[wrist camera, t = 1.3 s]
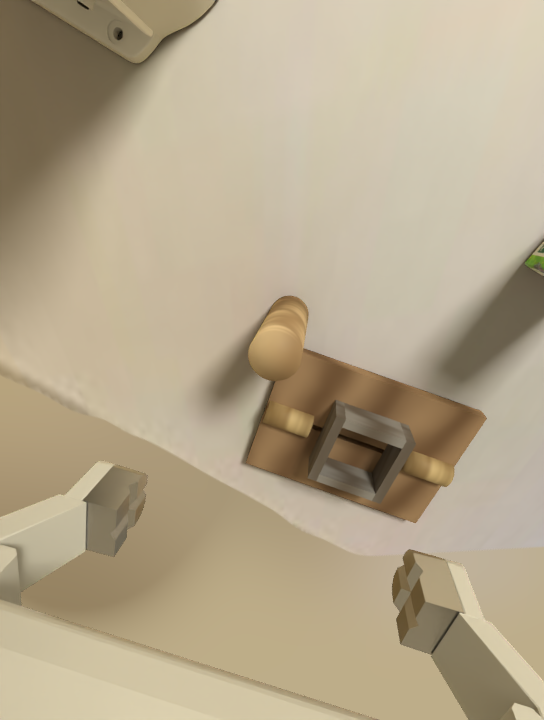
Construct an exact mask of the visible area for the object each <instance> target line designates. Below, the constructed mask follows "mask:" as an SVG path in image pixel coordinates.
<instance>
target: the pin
mask: <svg viewBox="0 0 544 720" xmlns="http://www.w3.org/2000/svg"><path fill="white" fill-rule="evenodd" d="M307 322H308V309H307V306H306V305H305V303H304V302H303V301H302V300H301V299H299V298H297V297H294V296H284V297H281V298H279V299H278V300H277V301H276V302H275V303H274V304H273V306H272V308H271V309H270V311H269V313H268V315H267V316H266V318H265V320H264V322H263V323H262V325H261V327H260V329H259V330H258V332H257V334H256V336H255V337H254V339H253V341H252V343H251V344H250V347H249V351H248V359H249V363H250V365H251V367H252V369H253V370H254V371H255V372H256V373H257V374H258V375H259V376H261V377H262V378H264V379H267V380H271V381H281V380H285V379H288V378H290V377H291V376H293V375H294V374H295V373H296V372H297V370H298V369H299V367H300V364H301V359H302V353H303V347H304V340H305V334H306V328H307Z"/></svg>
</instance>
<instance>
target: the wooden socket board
mask: <svg viewBox="0 0 544 720" xmlns="http://www.w3.org/2000/svg"><path fill="white" fill-rule="evenodd" d="M486 419H487V418H486V416H485V415H484V414H483V413H482V411H480V410H477V409H474V408H471V407H468V406H466V405H463V404H460V403H457V402H454V401H451V400H449V399H446V398H443V397H440V396H437V395H434V394H432V393H429V392H426V391H423V390H420V389H417V388H415V387H412V386H409V385H406V384H403V383H400V382H398V381H395V380H392V379H389V378H386V377H383V376H381V375H378V374H375V373H372V372H369V371H366V370H364V369H361V368H358V367H355V366H352V365H349V364H347V363H344V362H341V361H338V360H335V359H332V358H330V357H327V356H324V355H321V354H318V353H315V352H313V351H310V350H307V349H304V348H303V353H302V359H301V364H300V367H299V369H298V370H297V372H296V373H295V374H294V375H293V376H291V377H290V378H288V379H285V380H281V381H275V383H274V386H273V389H272V391H271V394H270V397H269V400H268V403H267V406H266V408H265V411H264V413H263V416H262V419H261V421H260V424H259V427H258V430H257V432H256V435H255V438H254V441H253V443H252V446H251V449H250V452H249V454H248V457H247V460H246V463H247V464H250V465H253V466H256V467H259V468H261V469H264V470H267V471H270V472H273V473H275V474H278V475H281V476H284V477H287V478H290V479H292V480H295V481H298V482H301V483H304V484H306V485H309V486H312V487H315V488H318V489H321V490H323V491H326V492H329V493H332V494H335V495H337V496H340V497H343V498H346V499H349V500H352V501H354V502H357V503H360V504H363V505H366V506H368V507H371V508H374V509H377V510H380V511H383V512H385V513H388V514H391V515H394V516H397V517H399V518H402V519H405V520H408V521H411V522H414V523H416V522H417V521H418V519H419V518H420V516H421V515H422V513H423V512H424V510H425V509H426V507H427V506H428V504H429V503H430V501H431V500H432V499H433V497H434V496H435V494H436V493H437V491H438V490H439V488H440V487H441V486H444V487H447V486H448V485H449V484H450V483H451V482H452V480H453V477H454V466H455V465H456V463H457V462H458V460H459V459H460V457H461V456H462V454H463V453H464V451H465V450H466V448H467V447H468V446H469V444H470V443H471V441H472V440H473V438H474V437H475V435H476V434H477V432H478V431H479V429H480V428H481V426H482V425H483V423H484V422H485V420H486Z"/></svg>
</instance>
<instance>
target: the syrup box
mask: <svg viewBox="0 0 544 720" xmlns="http://www.w3.org/2000/svg"><path fill="white" fill-rule="evenodd" d="M525 265H526V266H528V267H529V268H531V269H532V270H534V271H535V272H537V273H539V274H540V275H542V276H543V277H544V241H543V243H542V244H541V245H540V246H539V247H538V248H537V249H536V251H535V252H534V253H533V254H532V255H531V256H530V257H529V259H528V260H527V261H526V262H525Z"/></svg>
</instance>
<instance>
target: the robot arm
mask: <svg viewBox="0 0 544 720" xmlns="http://www.w3.org/2000/svg"><path fill="white" fill-rule="evenodd" d="M31 1H33V2H34V3H36V4H38V5H39V6H41V7H42V8H44V9H46V10H47V11H49V12H50V13H52V14H54V15H55V16H57V17H59V18H60V19H62V20H63V21H65V22H67V23H68V24H70V25H71V26H73V27H75V28H76V29H78V30H80V31H81V32H83V33H84V34H86V35H88V36H89V37H91V38H93V39H94V40H96V41H97V42H99V43H101V44H102V45H104V46H105V47H107V48H109V49H110V50H112V51H114V52H115V53H117V54H118V55H120V56H122V57H123V58H125V59H126V60H128V61H130V62H132V63H140V62H142V61H144V60H145V59H146V58H147V57H148V56H149V55H150V54H151V53H152V52H153V51H154V49H155V48H156V47H157V46H158V44H159V43H160V42H161V40H162V39H163V38H165V37H166V36H168V35H169V34H171V33H173V32H175V31H178V30H180V29H182V28H184V27H186V26H188V25H190V24H191V23H193V22H194V21H196V20H197V19H198V18H199V17H201V16H202V15H203V14H204V13H205V12H206V11H207V10H208V9H209V8H210V7H211V6H212V4H213V3H214V2H215V0H31ZM120 31H123V37H122V39H121V40H118V34H119V32H120ZM147 476H148V475H146V474H145V473H142V472H139V471H136V470H133V469H130V468H127V467H123V466H120V465H116V464H113V463H110V462H106V461H103V460H100V461H98V462H96V463H95V464H94V465H93V466H92V467H91V469H89V470H88V472H87V473H86V474H85V475H84V476H83V477H82V478H81V479H80V480H79V481H78V482H77V483H76V484H75V485H74V486H73V487H72V488H71V489H70V490H69V491H68V492H67V493H66V494H65V495H60V494H59V495H56V496H54V497H51V498H48V499H46V500H43V501H41V502H38V503H35V504H33V505H30V506H28V507H25V508H23V509H20V510H17V511H15V512H12V513H9V514H7V515H4V516H2V517H0V720H378V719H375V718H372V717H369V716H365V715H362V714H359V713H356V712H353V711H350V710H347V709H344V708H340V707H337V706H334V705H331V704H328V703H325V702H321V701H318V700H315V699H312V698H309V697H306V696H302V695H299V694H296V693H293V692H290V691H287V690H283V689H281V688H277V687H274V686H271V685H268V684H264V683H262V682H259V681H255V680H252V679H249V678H246V677H243V676H240V675H237V674H233V673H230V672H227V671H224V670H221V669H218V668H214V667H211V666H208V665H205V664H202V663H199V662H196V661H193V660H189V659H186V658H183V657H180V656H177V655H173V654H171V653H167V652H164V651H161V650H158V649H155V648H152V647H149V646H146V645H142V644H139V643H136V642H133V641H130V640H127V639H124V638H120V637H117V636H114V635H111V634H108V633H105V632H101V631H98V630H95V629H92V628H89V627H86V626H83V625H80V624H76V623H73V622H70V621H67V620H64V619H61V618H58V617H54V616H51V615H48V614H45V613H42V612H39V611H36V610H33V609H29V608H26V607H23V606H21V595H20V592H22V591H23V590H25V589H27V588H28V587H30V586H31V585H33V584H35V583H36V582H38V581H39V580H41V579H42V578H44V577H45V576H47V575H49V574H50V573H52V572H53V571H55V570H57V569H58V568H60V567H61V566H63V565H65V564H66V563H68V562H69V561H71V560H72V559H74V558H76V557H77V556H79V555H80V554H82V553H84V552H85V550H90V551H93V552H97V553H101V554H104V555H108V556H112V557H114V556H115V555H116V553H117V552H118V550H119V549H120V547H121V546H122V544H123V542H124V541H125V539H126V537H127V529H129V528H131V527H133V526H134V525H135V524H136V522H137V521H138V519H139V517H140V515H141V513H142V510H143V508H144V504H145V499H146V494H145V492H144V491H143V489H144V488H145V486H146V484H147V478H148V477H147ZM403 561H404V565H403V566H401V567H399V568H397V570H396V573H395V575H394V578H393V584H392V596H393V603H394V604H395V606H396V607H397V609H398V610H399V612H400V613H399V615H398V617H397V619H396V621H397V627H398V633H399V638H400V644H401V645H404V646H407V647H410V648H413V649H416V650H419V651H422V652H425V653H428V654H431V655H432V656H431V657H432V659H433V661H434V662H435V664H436V666H437V667H438V669H439V671H440V672H441V674H442V676H443V677H444V679H445V681H446V682H447V684H448V686H449V687H450V689H451V691H452V693H453V694H454V696H455V698H456V699H457V701H458V703H459V704H460V706H461V708H462V709H463V711H464V712H465V714H466V716H467V718H468V720H544V681H543V680H542V679H541V678H540V677H539V676H538V674H537V673H536V672H535V671H534V670H533V669H532V668H531V667H530V666H529V664H528V663H527V662H526V661H525V660H524V659H523V658H522V657H521V655H520V654H519V653H518V652H517V651H516V650H515V649H514V648H513V647H512V646H511V644H510V643H509V642H508V641H507V640H506V639H505V638H504V636H503V635H502V634H501V633H500V632H499V631H498V630H497V629H496V628H495V626H494V625H493V624H492V623H491V622H489V621H486V620H485V619H484V616H483V614H482V611H481V609H480V606H479V603H478V601H477V598H476V596H475V593H474V591H473V588H472V586H471V583H470V581H469V578H468V575H467V573H466V570H465V568H464V566H463V565H462V564H461V563H457V562H454V561H450V560H446V559H442V558H439V557H436V556H432V555H428V554H425V553H421V552H418V551H414V550H410V549H409V550H408V551H406V553H405V554H404V556H403Z"/></svg>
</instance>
